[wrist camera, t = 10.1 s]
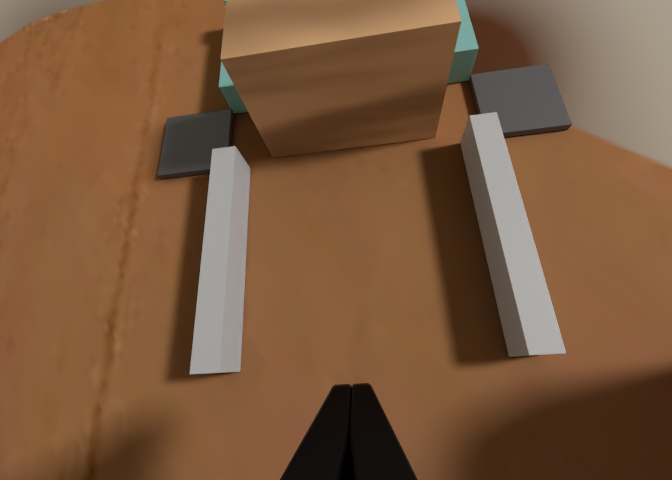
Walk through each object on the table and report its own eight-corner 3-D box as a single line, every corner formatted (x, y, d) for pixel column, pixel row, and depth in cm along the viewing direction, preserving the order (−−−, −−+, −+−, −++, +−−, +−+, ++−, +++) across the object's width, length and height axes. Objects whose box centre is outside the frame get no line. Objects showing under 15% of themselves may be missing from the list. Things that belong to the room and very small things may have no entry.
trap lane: (650, 348, 16) (706, 345, 13) (130, 377, 19) (85, 379, 16) (511, -21, 26) (526, -68, 23) (185, 34, 29) (164, -1, 26)
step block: (434, 138, 22) (461, 21, 14) (272, 158, 23) (220, 59, 16) (412, 22, 26) (424, -116, 18) (275, 44, 27) (234, -78, 20)
